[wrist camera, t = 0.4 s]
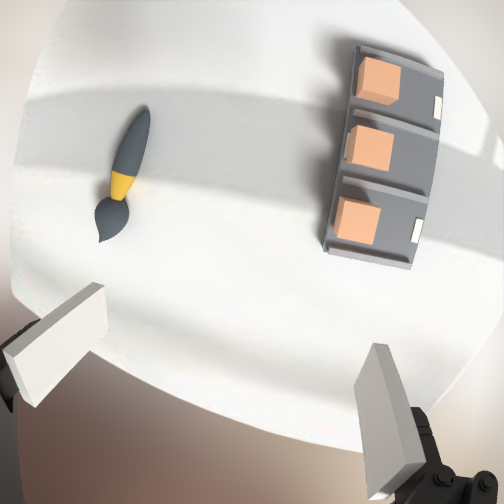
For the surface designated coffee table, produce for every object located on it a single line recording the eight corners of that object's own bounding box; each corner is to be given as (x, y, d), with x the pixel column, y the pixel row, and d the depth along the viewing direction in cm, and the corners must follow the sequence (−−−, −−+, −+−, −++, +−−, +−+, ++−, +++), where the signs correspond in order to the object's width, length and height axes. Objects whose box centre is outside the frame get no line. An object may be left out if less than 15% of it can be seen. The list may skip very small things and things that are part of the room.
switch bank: (353, 51, 29) (357, 43, 26) (437, 78, 28) (447, 73, 25) (322, 246, 37) (324, 254, 34) (405, 263, 36) (413, 271, 33)
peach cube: (351, 129, 30) (357, 125, 26) (383, 137, 30) (394, 134, 26) (345, 162, 31) (352, 162, 28) (378, 170, 31) (388, 171, 27)
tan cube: (339, 195, 33) (345, 200, 29) (371, 203, 32) (380, 208, 29) (332, 229, 34) (337, 237, 30) (364, 235, 34) (372, 244, 30)
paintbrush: (129, 107, 35) (110, 103, 31) (159, 112, 35) (141, 107, 30) (104, 235, 42) (85, 244, 37) (129, 246, 42) (111, 256, 37)
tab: (358, 67, 28) (365, 56, 24) (390, 75, 27) (401, 66, 24) (355, 97, 29) (362, 89, 25) (387, 105, 29) (398, 99, 25)
